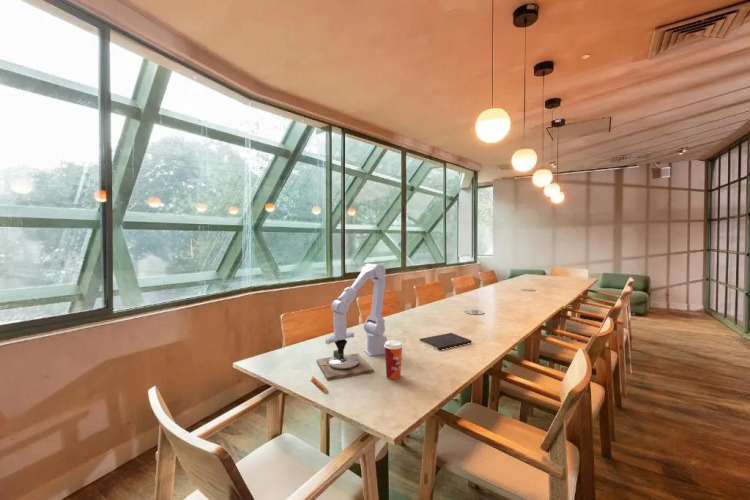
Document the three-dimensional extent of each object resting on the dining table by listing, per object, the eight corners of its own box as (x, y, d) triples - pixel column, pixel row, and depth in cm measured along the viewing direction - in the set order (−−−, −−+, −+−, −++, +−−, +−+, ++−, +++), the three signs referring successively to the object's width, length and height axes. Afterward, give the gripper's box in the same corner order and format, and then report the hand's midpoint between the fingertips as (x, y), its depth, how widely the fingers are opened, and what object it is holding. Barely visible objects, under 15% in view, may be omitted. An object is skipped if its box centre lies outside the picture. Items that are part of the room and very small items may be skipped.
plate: (357, 355, 153) (357, 352, 153) (373, 372, 134) (373, 368, 134) (316, 361, 145) (316, 358, 145) (327, 380, 127) (327, 376, 127)
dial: (346, 355, 149) (346, 347, 149) (364, 364, 139) (364, 355, 139) (322, 362, 141) (322, 353, 141) (339, 372, 131) (339, 362, 130)
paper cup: (397, 382, 125) (397, 347, 124) (380, 377, 129) (380, 343, 128) (406, 375, 131) (406, 341, 131) (389, 370, 136) (390, 338, 135)
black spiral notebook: (419, 343, 173) (419, 338, 173) (451, 336, 184) (451, 332, 184) (438, 352, 159) (438, 347, 159) (471, 344, 170) (471, 340, 170)
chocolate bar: (316, 380, 127) (316, 375, 127) (329, 392, 117) (329, 386, 117) (310, 382, 126) (309, 376, 126) (323, 394, 116) (323, 388, 116)
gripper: (347, 321, 151) (348, 349, 152) (321, 327, 141) (322, 357, 142) (356, 324, 146) (357, 353, 147) (330, 331, 136) (331, 362, 137)
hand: (340, 355), depth 144 cm, fingers closed, pressing on dial
